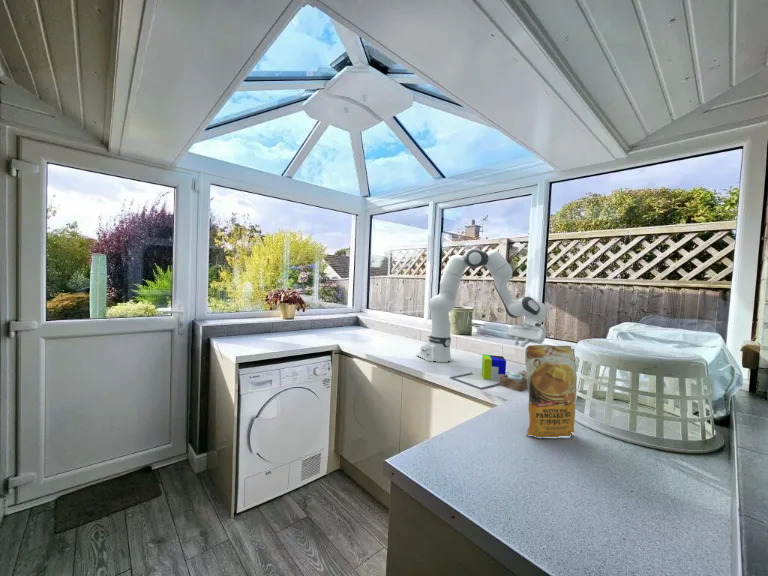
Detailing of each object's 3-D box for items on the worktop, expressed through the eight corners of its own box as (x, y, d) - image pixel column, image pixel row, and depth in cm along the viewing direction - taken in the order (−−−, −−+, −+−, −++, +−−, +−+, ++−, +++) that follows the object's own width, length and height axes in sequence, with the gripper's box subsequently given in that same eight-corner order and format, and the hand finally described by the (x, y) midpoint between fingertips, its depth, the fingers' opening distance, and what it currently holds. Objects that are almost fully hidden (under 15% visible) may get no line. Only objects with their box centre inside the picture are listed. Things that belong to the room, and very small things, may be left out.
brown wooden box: (499, 384, 150) (499, 372, 149) (518, 379, 159) (519, 368, 159) (518, 391, 142) (519, 378, 141) (538, 385, 151) (538, 373, 151)
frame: (449, 378, 156) (449, 376, 156) (471, 373, 166) (471, 372, 166) (481, 389, 141) (481, 388, 141) (503, 384, 151) (503, 382, 151)
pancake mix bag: (514, 429, 103) (519, 343, 103) (568, 428, 106) (573, 344, 105) (526, 440, 97) (532, 347, 96) (583, 438, 99) (589, 348, 99)
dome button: (504, 378, 149) (505, 372, 149) (512, 376, 153) (512, 370, 153) (517, 382, 144) (517, 376, 144) (525, 380, 148) (525, 374, 147)
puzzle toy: (505, 381, 156) (506, 360, 156) (483, 379, 158) (484, 358, 158) (501, 375, 166) (502, 356, 165) (481, 373, 168) (482, 354, 167)
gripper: (510, 320, 186) (499, 338, 181) (546, 325, 170) (535, 345, 164) (514, 327, 189) (504, 345, 183) (549, 333, 172) (539, 353, 167)
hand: (519, 345), depth 174 cm, fingers open, 2 cm apart
